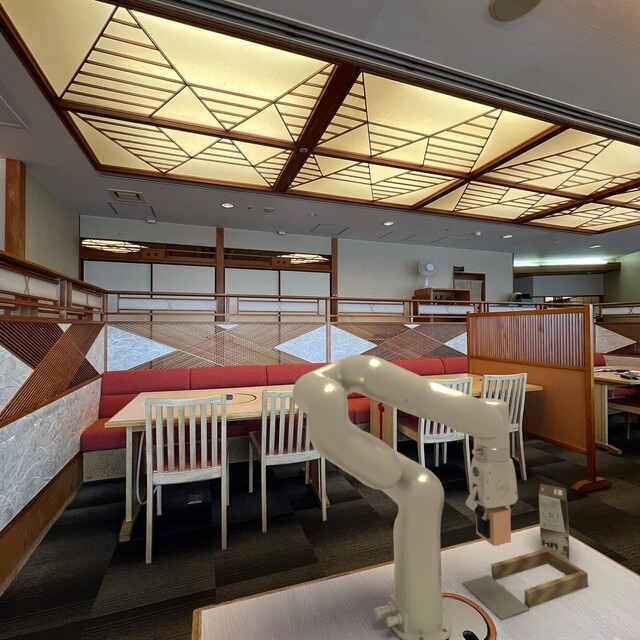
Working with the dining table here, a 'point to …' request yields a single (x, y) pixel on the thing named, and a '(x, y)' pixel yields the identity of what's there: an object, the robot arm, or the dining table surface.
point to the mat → (495, 597)
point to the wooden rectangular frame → (550, 589)
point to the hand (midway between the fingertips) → (493, 532)
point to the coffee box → (554, 520)
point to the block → (498, 526)
